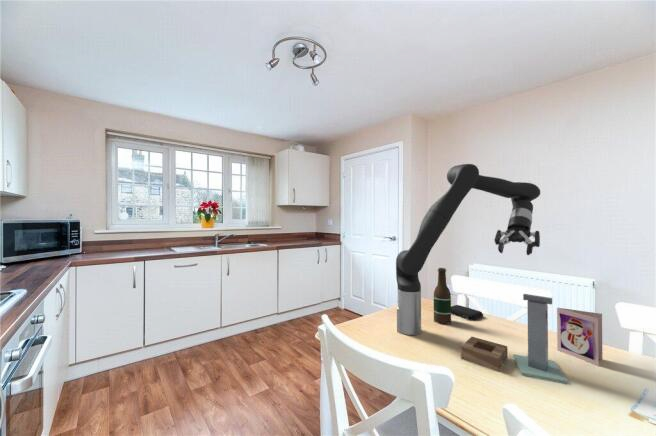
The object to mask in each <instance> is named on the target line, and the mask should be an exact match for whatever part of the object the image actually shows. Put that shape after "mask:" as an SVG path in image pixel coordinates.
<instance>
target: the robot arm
mask: <svg viewBox="0 0 656 436" xmlns="http://www.w3.org/2000/svg"><path fill="white" fill-rule="evenodd" d="M446 179H447V183H449V184H450V185H451V186H450V187H449V189H448V190H447V191H446V192H445V193H444V194H443V195H442V196H441V197H439V198H438V199H437V200H436V201H435V202H434V203H433V204H432V205H431V206H430V207H429V209H428V211H427V212H426V214H425V215H424V217H423V218H422V220H421V223H420V225H419V230H418V232H417V235H416V238H415V240H414V241H413V243H412V245H411V246H410V248H409V249H406V250H405V249H404V250H402V251H400V252H399V253H398V254H397V256H396V259H395V271H396V272H395V275H396V276H395V277H396V283H397V308H396V332H398V333H401V334H402V335H403V334H404V335H406V336H417V335H420V334H422V289H421V288H422V285H421V282H420V278H419V272H420V271H421V270H422V269H423V267H424V266H425V263H426V261H427V259H428V257H429V255H430V253H431V250H432V248H434V245H436V242H437V241H438V240H439V239H440V236H441V235H442V234H443V232H444V231H445V229H446V228H447V226H448V224H449V223H450V221H451V220H452V218H453V216H454V214H455V212H456V211H457V209H458V208H459V207H460V205H461V203H462V202H463V200H464V199H465V197H467V195H468V194H469V193H470V191H471V190H472V189H473V190H479V191H483V192H486V193H489V194H491V195H496V196H499V197H503V198H505V199H506V198H507V199H510V200H511V205H512V209H511V213H510V215H509V218H508V224H507V229H506V231H502V230H501V229H497V230H496V233H495V237H494V243H495V245H496V246H497V249H498V252H499V253H500V254H503V253H504V247H505V245H508V244H510V243H511V242H512V243H524V244H525V245H526V251H525V252H526V255H527V256H530V255H532V253H533V249H534V248H535V247H536V248H539V247H540V245H541V235H540V231H539V230H535V231H531V228H532V223H533V210H534V205H533V203H532V201H534V200H535V199H538V198H539V197H540V195H541V189H540V188H539V186H538V185H537V184H535V183H531V182H522V181H521V182H520V181H519V182H517V181H516V182H514V181H511V180H507V179H505V178H504V179H503V178H501V177H500V178H499V177H492V176H487V175H481V174H480V171H479V168H478V166H477V165H475V164H473V163H463V164H462V163H461V164H458V165H455V166H452V167H451V168H450V169H449V170H448V171H447V174H446ZM531 237H533V239H534V241H532V240H531V239H530V238H531Z"/></svg>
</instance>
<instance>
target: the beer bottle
mask: <svg viewBox="0 0 656 436" xmlns="http://www.w3.org/2000/svg"><path fill="white" fill-rule="evenodd" d="M446 272H447V269H446V268H445V267H439V268H438V269H437V273H438V275H437V285H436V287H435V289H434V291H433V322H435V323H437V324H439V323H440V324H439V325H450V324H451V323H452V314H451V306H452V297H451V296H452V295H451V291H450V289H449V287H448V285H447V275H446Z"/></svg>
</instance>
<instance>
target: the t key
mask: <svg viewBox="0 0 656 436" xmlns="http://www.w3.org/2000/svg"><path fill="white" fill-rule="evenodd" d="M522 295H523V297H522V299H523V300H524V301H527V356H528V366H529V367H532V368H535V369H539V370H542V371H545V372H546V371H547V368H548V360H549V328H548V327H549V321H548V318H549V313H548V311H549V310H548V307H549V306H548V305H553V297H548V296H542V295H535V294H530V293H529V294H528V293H523V294H522Z"/></svg>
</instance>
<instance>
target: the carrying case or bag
mask: <svg viewBox="0 0 656 436" xmlns="http://www.w3.org/2000/svg"><path fill="white" fill-rule="evenodd" d="M451 313H452V314H451V315H454V314H455V315H454V316H457V317H460V316H461V318H463V319H466V318H467V320H470V321H476V320H478V319H481V318H483V317H484V313H483V312H482V311H480V310H477V309H473V308H470V307H467V306H462V305H459V304H455V305H451Z"/></svg>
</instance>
